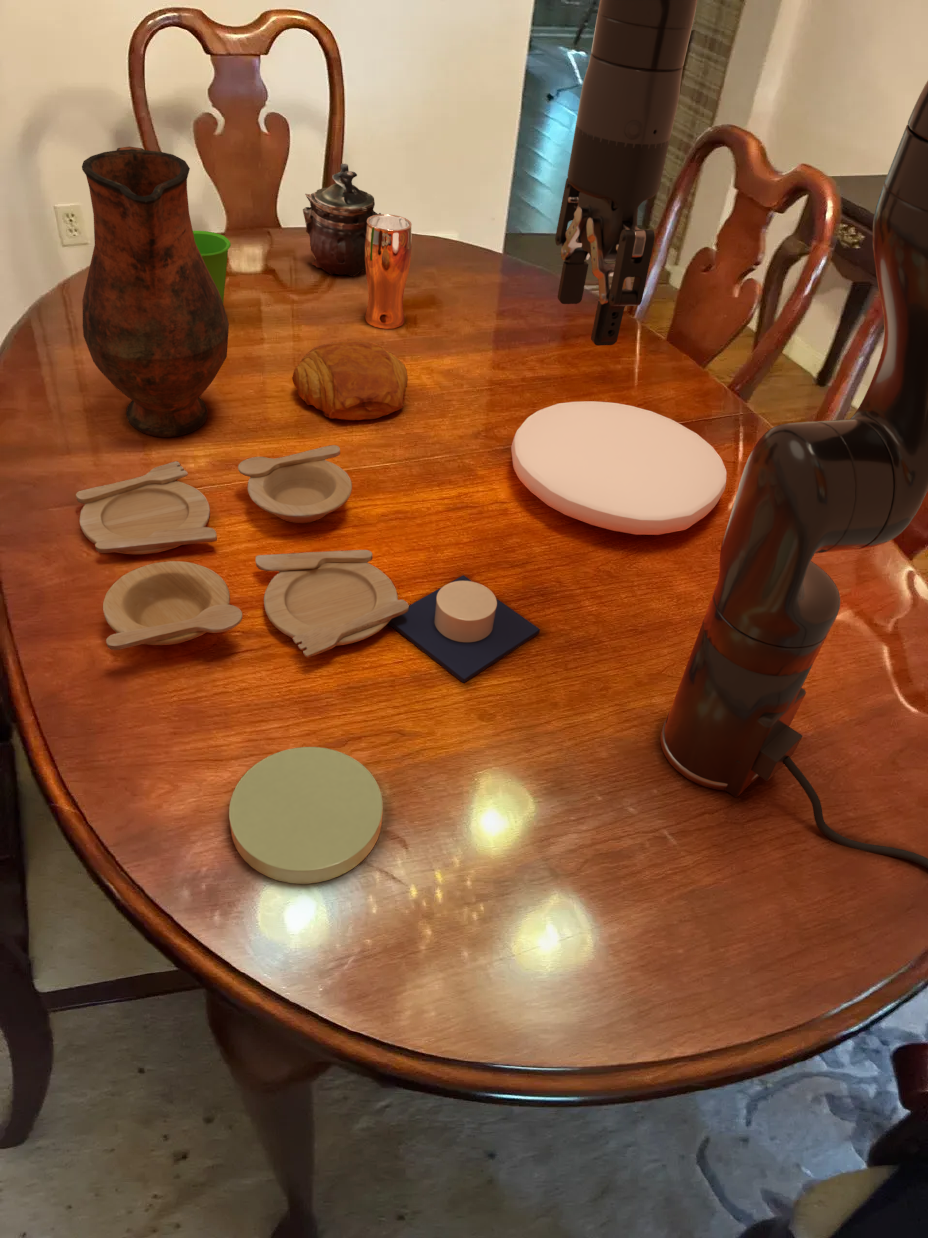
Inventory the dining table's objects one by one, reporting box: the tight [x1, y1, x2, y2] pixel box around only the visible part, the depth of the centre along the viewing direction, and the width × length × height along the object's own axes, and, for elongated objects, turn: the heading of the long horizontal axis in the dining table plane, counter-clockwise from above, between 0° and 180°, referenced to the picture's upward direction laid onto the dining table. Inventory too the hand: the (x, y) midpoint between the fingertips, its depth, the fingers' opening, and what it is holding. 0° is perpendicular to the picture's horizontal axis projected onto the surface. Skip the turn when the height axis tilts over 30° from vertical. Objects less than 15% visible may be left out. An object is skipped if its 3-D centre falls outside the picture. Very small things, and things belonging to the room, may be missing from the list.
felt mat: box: [387, 574, 541, 684], centre depth 93 cm, size 11×11×1 cm
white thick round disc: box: [510, 400, 728, 536], centre depth 114 cm, size 28×6×27 cm
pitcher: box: [81, 146, 230, 438], centre depth 109 cm, size 17×21×30 cm
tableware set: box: [75, 444, 410, 658], centre depth 95 cm, size 35×29×4 cm
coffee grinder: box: [302, 163, 382, 278], centre depth 151 cm, size 13×15×18 cm
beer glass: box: [364, 213, 413, 330], centre depth 139 cm, size 7×7×15 cm
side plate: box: [228, 746, 384, 885], centre depth 74 cm, size 12×12×2 cm
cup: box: [193, 230, 231, 303], centre depth 136 cm, size 9×9×11 cm
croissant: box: [291, 339, 409, 421], centre depth 123 cm, size 14×16×8 cm
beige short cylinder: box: [434, 580, 497, 643], centre depth 92 cm, size 6×6×3 cm
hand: (585, 322), depth 83 cm, fingers open, 8 cm apart
